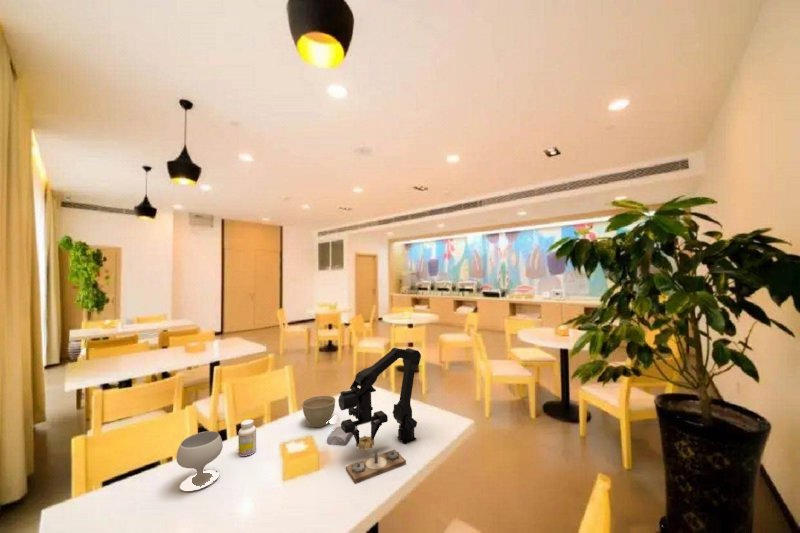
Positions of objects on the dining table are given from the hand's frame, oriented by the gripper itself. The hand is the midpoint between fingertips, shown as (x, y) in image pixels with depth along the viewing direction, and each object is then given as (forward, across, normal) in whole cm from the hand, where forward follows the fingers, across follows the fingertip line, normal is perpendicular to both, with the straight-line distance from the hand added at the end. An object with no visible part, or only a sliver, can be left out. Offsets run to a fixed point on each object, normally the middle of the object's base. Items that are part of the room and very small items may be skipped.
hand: (365, 442), depth 124 cm
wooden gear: (+1, 0, 0) cm, 1 cm away
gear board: (+5, 0, +10) cm, 11 cm away
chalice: (+5, +57, -17) cm, 60 cm away
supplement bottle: (+5, +41, -28) cm, 50 cm away
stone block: (+5, +4, -18) cm, 19 cm away
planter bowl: (+5, +8, -38) cm, 39 cm away
